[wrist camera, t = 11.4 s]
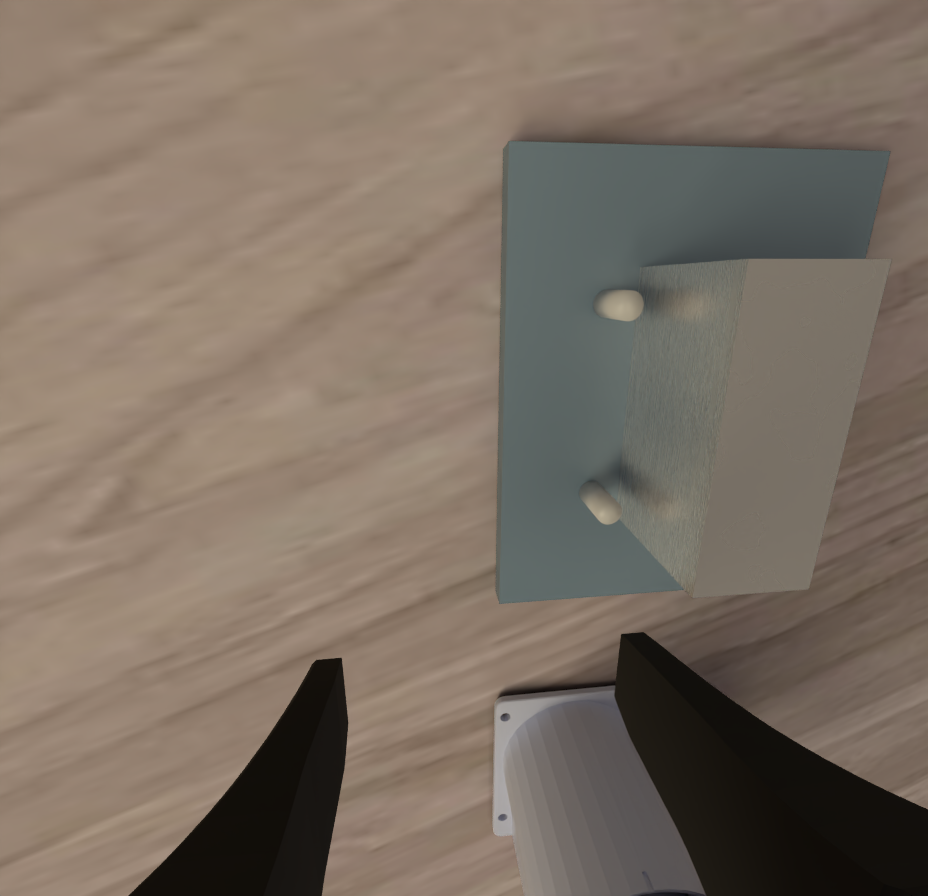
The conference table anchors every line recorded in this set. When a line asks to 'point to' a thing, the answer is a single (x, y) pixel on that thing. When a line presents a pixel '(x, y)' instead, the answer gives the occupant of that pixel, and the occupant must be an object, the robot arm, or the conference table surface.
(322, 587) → the conference table surface
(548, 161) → the tray
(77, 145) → the conference table surface
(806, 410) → the beige rectangular block
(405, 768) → the conference table surface
